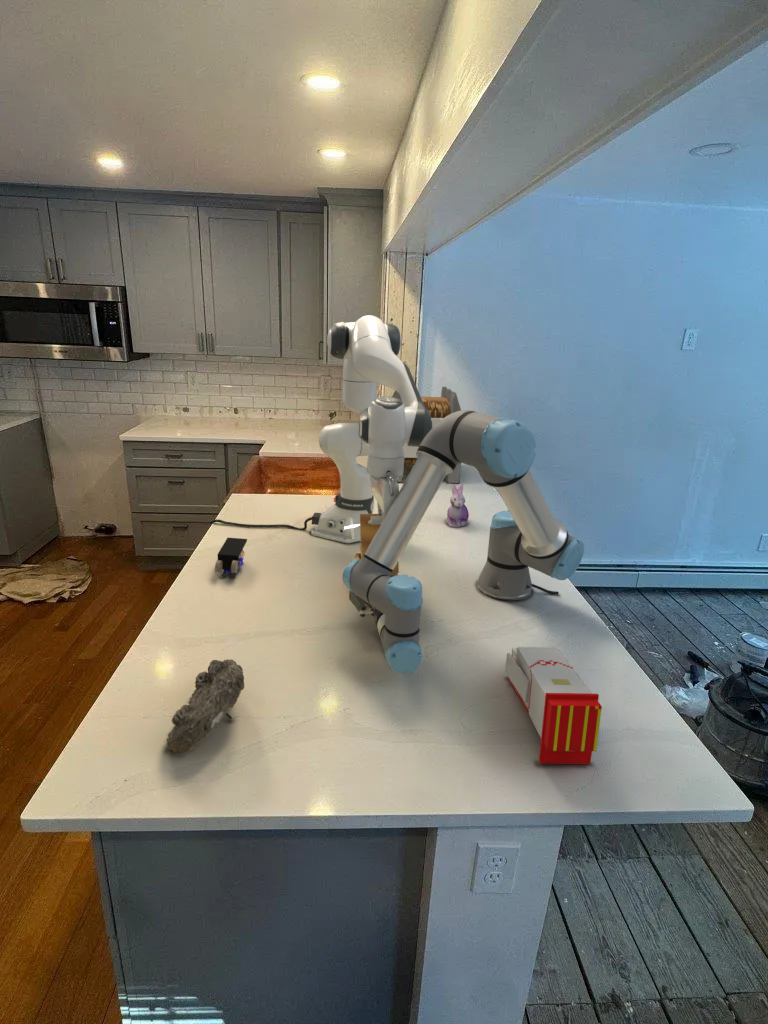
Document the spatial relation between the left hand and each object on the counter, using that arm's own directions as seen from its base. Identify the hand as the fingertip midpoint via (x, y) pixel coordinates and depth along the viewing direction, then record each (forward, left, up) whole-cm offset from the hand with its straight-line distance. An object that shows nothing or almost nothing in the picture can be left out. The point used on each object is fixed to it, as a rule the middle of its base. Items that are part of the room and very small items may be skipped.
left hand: (383, 519), depth 142 cm
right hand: (-2, +4, -19) cm, 19 cm away
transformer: (-19, +132, -25) cm, 136 cm away
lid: (-2, +4, -8) cm, 9 cm away
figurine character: (-47, +7, -25) cm, 54 cm away
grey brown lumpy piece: (-18, -51, -25) cm, 60 cm away
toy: (+43, -29, -25) cm, 57 cm away
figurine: (+10, +71, -25) cm, 76 cm away
